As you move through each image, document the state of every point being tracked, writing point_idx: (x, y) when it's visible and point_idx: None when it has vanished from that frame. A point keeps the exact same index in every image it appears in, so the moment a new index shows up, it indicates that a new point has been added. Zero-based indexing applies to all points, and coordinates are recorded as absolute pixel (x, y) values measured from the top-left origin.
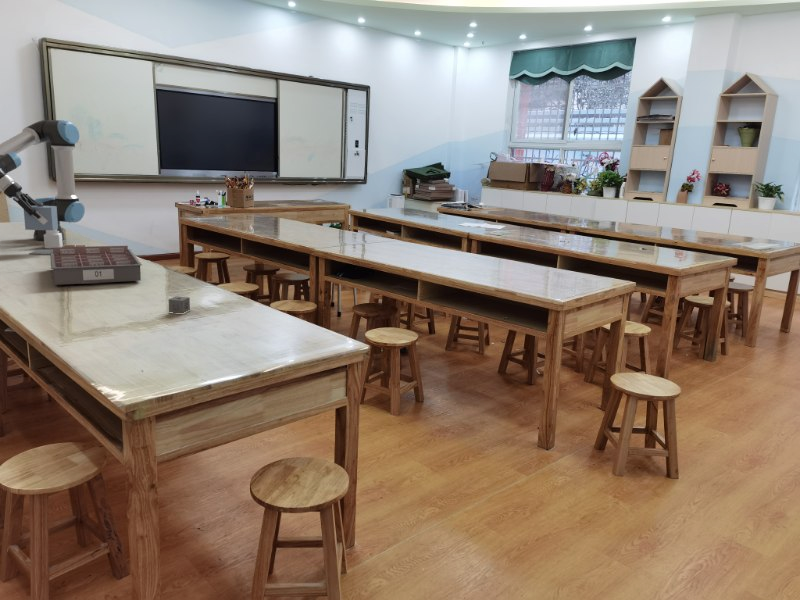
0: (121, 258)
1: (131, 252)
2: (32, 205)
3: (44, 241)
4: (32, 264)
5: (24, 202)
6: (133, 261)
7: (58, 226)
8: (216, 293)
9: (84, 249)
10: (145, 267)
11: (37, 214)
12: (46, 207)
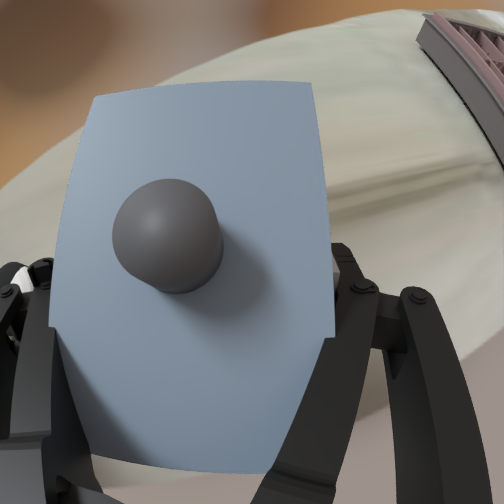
0: (493, 46)
1: (456, 21)
2: (73, 401)
3: None
4: (479, 259)
5: (460, 424)
6: (498, 38)
7: (15, 262)
8: (499, 18)
9: (498, 87)
10: (411, 27)
11: (350, 263)
12: (317, 125)
